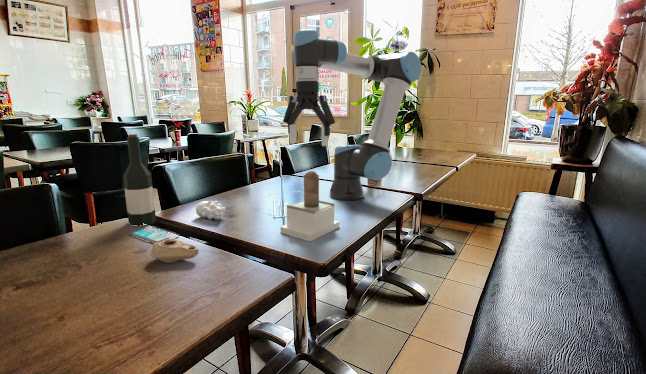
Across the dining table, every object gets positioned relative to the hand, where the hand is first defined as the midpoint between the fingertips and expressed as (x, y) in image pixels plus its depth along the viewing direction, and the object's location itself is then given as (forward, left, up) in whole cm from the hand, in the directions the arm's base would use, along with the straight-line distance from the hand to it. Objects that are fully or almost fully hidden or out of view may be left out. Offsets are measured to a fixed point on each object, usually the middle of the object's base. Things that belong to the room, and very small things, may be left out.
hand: (308, 144), depth 121 cm
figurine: (+23, -26, -27) cm, 44 cm away
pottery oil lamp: (+50, -5, -27) cm, 57 cm away
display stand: (+10, +9, -27) cm, 30 cm away
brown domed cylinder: (+10, +9, -18) cm, 22 cm away
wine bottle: (+40, -41, -27) cm, 63 cm away
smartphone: (+44, -26, -27) cm, 58 cm away
